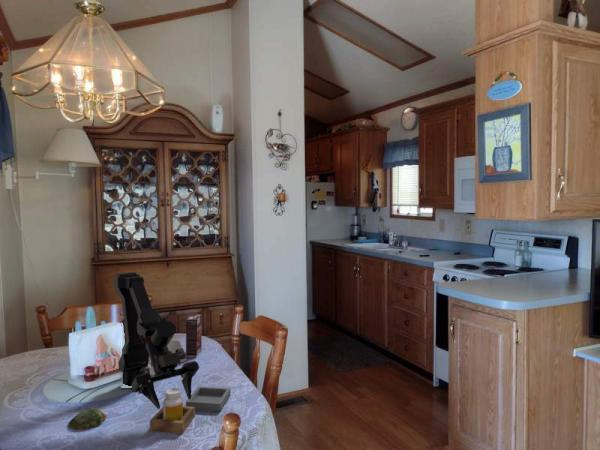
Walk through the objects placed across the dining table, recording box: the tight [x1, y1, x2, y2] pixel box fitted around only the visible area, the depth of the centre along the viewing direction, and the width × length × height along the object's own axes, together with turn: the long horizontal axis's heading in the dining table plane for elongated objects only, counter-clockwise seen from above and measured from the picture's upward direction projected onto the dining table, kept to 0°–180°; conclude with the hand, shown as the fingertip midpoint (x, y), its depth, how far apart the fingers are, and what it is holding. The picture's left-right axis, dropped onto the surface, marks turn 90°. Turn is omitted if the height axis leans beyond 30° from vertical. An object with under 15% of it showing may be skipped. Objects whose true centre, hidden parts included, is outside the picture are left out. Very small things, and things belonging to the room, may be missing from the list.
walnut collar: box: [149, 405, 196, 435], centre depth 122 cm, size 9×9×3 cm
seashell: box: [67, 407, 108, 431], centre depth 123 cm, size 10×4×10 cm
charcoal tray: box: [185, 385, 231, 413], centre depth 136 cm, size 11×11×2 cm
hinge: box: [144, 339, 187, 373], centre depth 167 cm, size 17×5×10 cm, turn 140°
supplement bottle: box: [162, 387, 184, 421], centre depth 122 cm, size 5×5×10 cm
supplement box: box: [185, 313, 203, 359], centre depth 178 cm, size 9×5×16 cm, turn 179°
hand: (174, 403), depth 121 cm, fingers open, 9 cm apart
